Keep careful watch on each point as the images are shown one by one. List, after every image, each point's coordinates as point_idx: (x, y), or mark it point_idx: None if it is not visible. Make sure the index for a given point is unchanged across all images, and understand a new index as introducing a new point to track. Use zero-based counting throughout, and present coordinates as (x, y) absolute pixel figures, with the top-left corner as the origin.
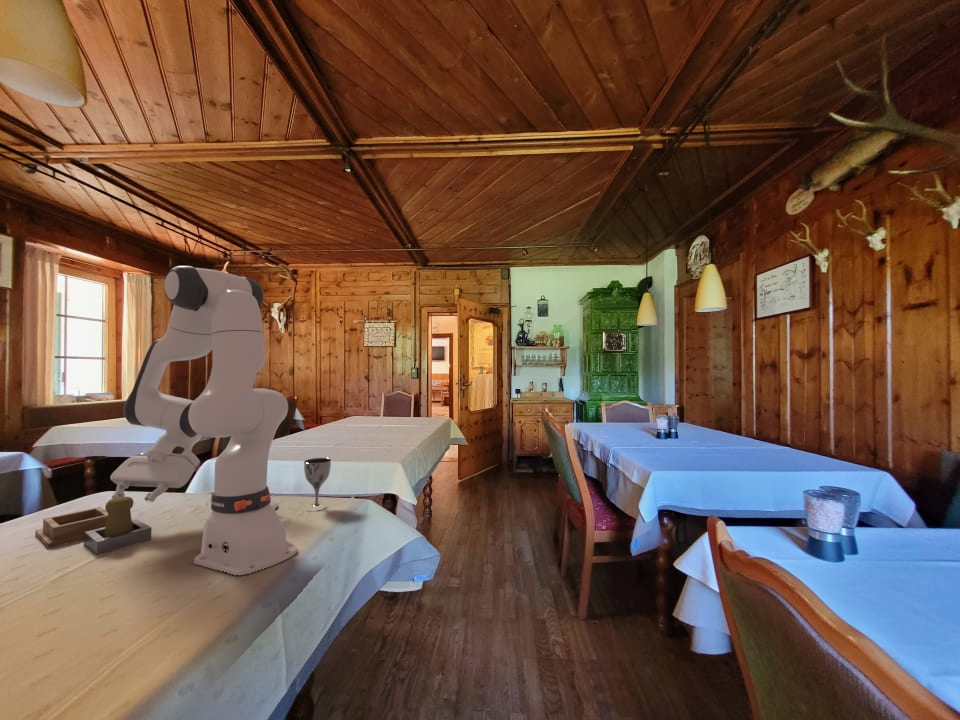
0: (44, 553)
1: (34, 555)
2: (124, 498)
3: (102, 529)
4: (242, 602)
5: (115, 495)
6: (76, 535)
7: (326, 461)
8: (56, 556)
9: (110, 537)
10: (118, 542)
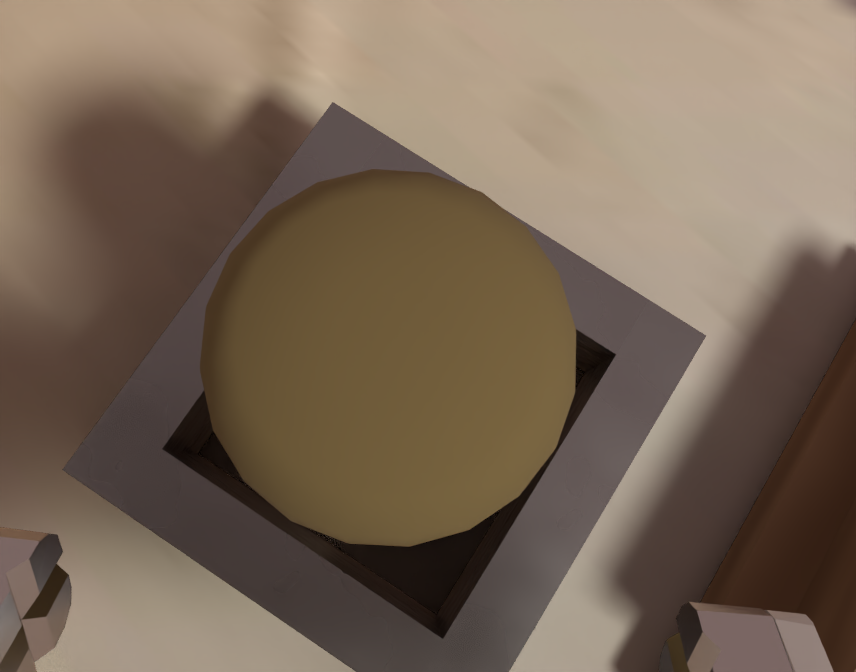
0: (804, 184)
1: (842, 151)
2: (284, 323)
3: (585, 410)
4: None
5: (756, 634)
6: (851, 438)
7: None
8: (646, 134)
9: None
10: None
